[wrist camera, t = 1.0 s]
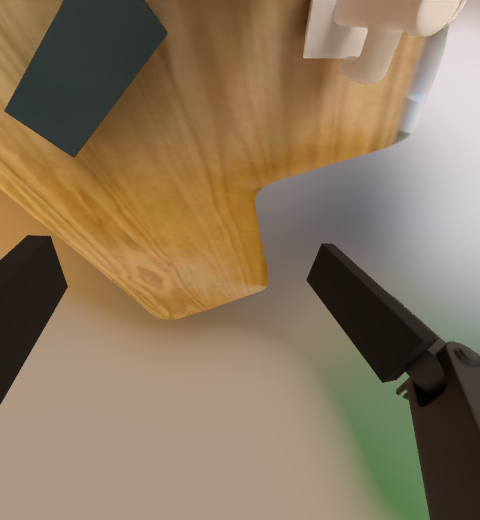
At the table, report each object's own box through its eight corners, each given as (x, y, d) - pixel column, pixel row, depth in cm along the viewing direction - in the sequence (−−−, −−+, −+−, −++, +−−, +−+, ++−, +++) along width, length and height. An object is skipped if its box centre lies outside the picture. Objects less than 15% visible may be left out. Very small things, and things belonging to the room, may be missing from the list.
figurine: (288, 66, 26) (361, 99, 16) (308, -77, 19) (456, -167, 9) (342, 66, 27) (440, 96, 18) (380, -69, 20) (577, -142, 11)
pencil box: (110, -50, 18) (97, -64, 15) (167, 30, 22) (167, 33, 19) (26, 97, 23) (3, 111, 20) (85, 140, 27) (73, 158, 24)
